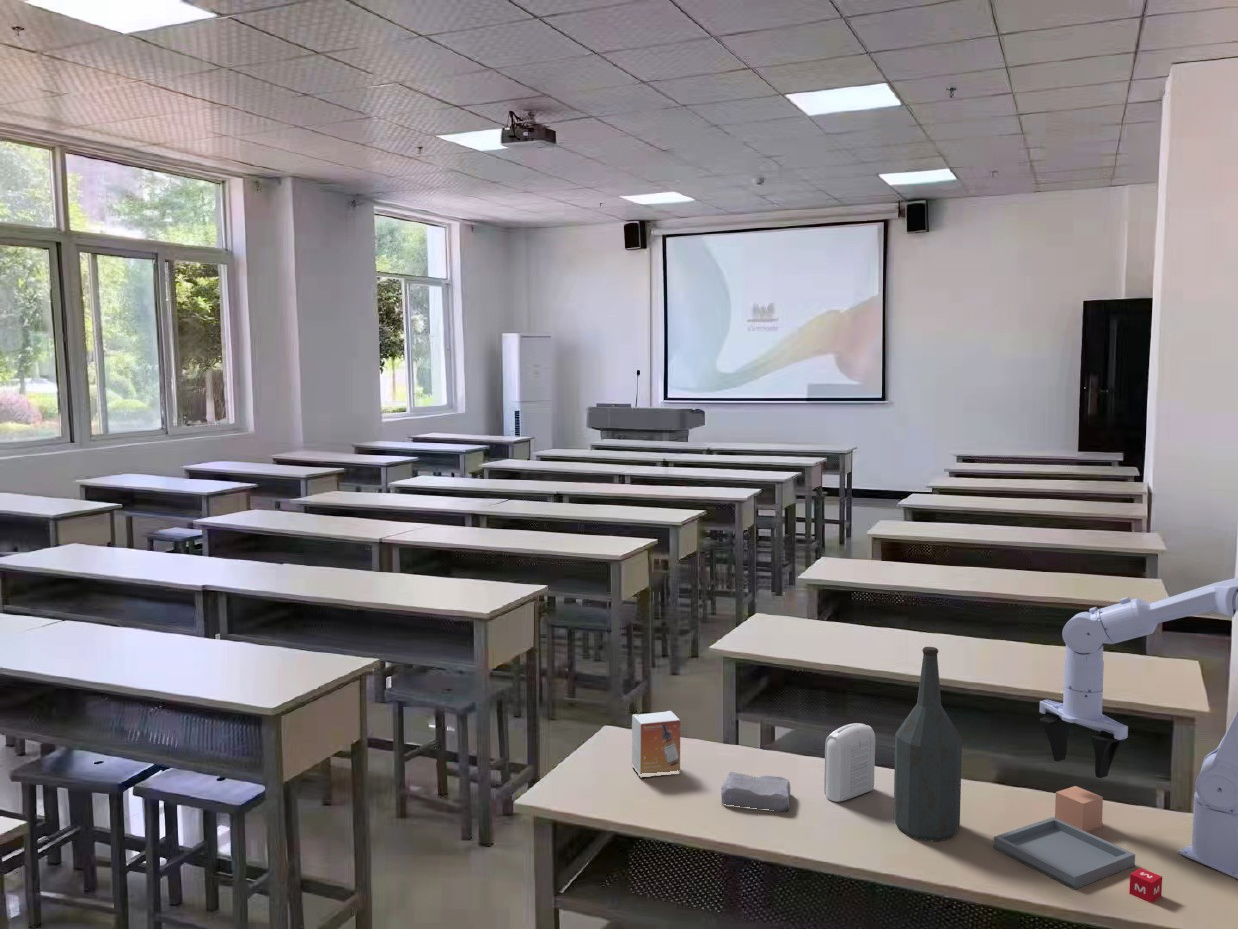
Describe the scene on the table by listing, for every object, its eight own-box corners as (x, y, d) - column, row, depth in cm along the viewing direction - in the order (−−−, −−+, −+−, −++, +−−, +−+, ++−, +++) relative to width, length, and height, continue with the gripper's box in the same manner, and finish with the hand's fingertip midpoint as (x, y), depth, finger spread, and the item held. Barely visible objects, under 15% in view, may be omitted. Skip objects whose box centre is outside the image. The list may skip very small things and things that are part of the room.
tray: (1134, 865, 142) (1135, 854, 142) (1074, 889, 135) (1074, 877, 135) (1052, 827, 154) (1053, 817, 154) (993, 848, 148) (993, 836, 148)
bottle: (949, 848, 148) (954, 660, 145) (887, 832, 153) (890, 651, 150) (964, 822, 156) (969, 644, 154) (905, 808, 161) (908, 636, 159)
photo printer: (858, 782, 172) (860, 716, 171) (877, 790, 169) (879, 723, 168) (820, 796, 166) (821, 728, 165) (839, 805, 163) (840, 735, 162)
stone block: (725, 795, 172) (718, 808, 162) (727, 768, 172) (720, 779, 163) (791, 804, 169) (788, 817, 159) (793, 776, 169) (790, 788, 160)
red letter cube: (1129, 894, 134) (1130, 874, 134) (1139, 887, 136) (1140, 867, 136) (1150, 903, 132) (1151, 883, 132) (1161, 897, 134) (1162, 876, 133)
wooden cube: (1101, 826, 155) (1102, 797, 154) (1082, 833, 152) (1083, 803, 152) (1074, 814, 159) (1075, 786, 159) (1054, 821, 157) (1055, 792, 156)
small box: (639, 779, 174) (639, 724, 173) (631, 768, 179) (631, 714, 178) (681, 774, 176) (681, 719, 175) (671, 763, 181) (671, 709, 180)
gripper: (1028, 678, 158) (1025, 757, 159) (1109, 704, 146) (1105, 789, 147) (1056, 672, 162) (1053, 749, 163) (1137, 696, 149) (1133, 780, 150)
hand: (1080, 768), depth 155 cm, fingers open, 7 cm apart
